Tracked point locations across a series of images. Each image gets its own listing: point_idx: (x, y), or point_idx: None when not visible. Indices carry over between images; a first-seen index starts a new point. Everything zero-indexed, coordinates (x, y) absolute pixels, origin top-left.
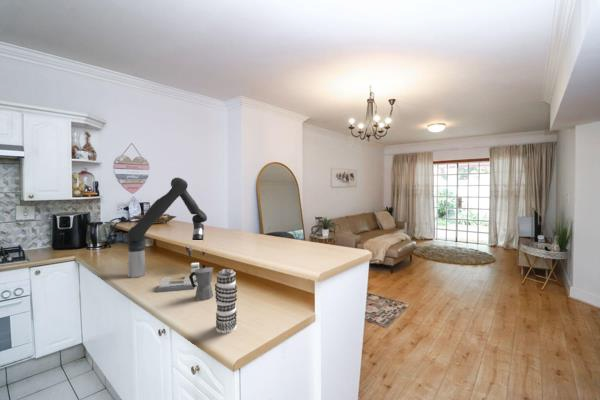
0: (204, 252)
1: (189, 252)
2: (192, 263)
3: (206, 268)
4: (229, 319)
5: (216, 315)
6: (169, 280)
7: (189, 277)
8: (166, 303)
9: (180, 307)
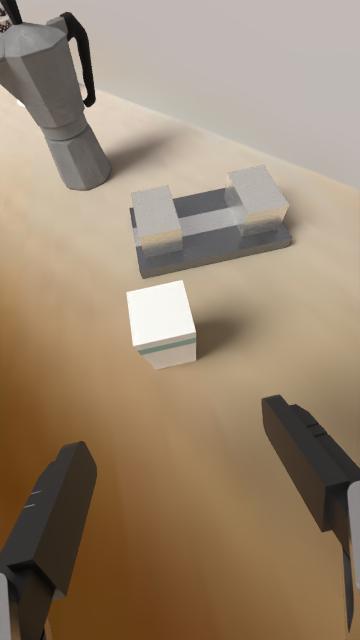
0: (32, 496)
1: (310, 432)
2: (183, 314)
3: (8, 29)
4: None
5: None
6: (231, 180)
7: (86, 35)
8: (180, 143)
9: (135, 133)
